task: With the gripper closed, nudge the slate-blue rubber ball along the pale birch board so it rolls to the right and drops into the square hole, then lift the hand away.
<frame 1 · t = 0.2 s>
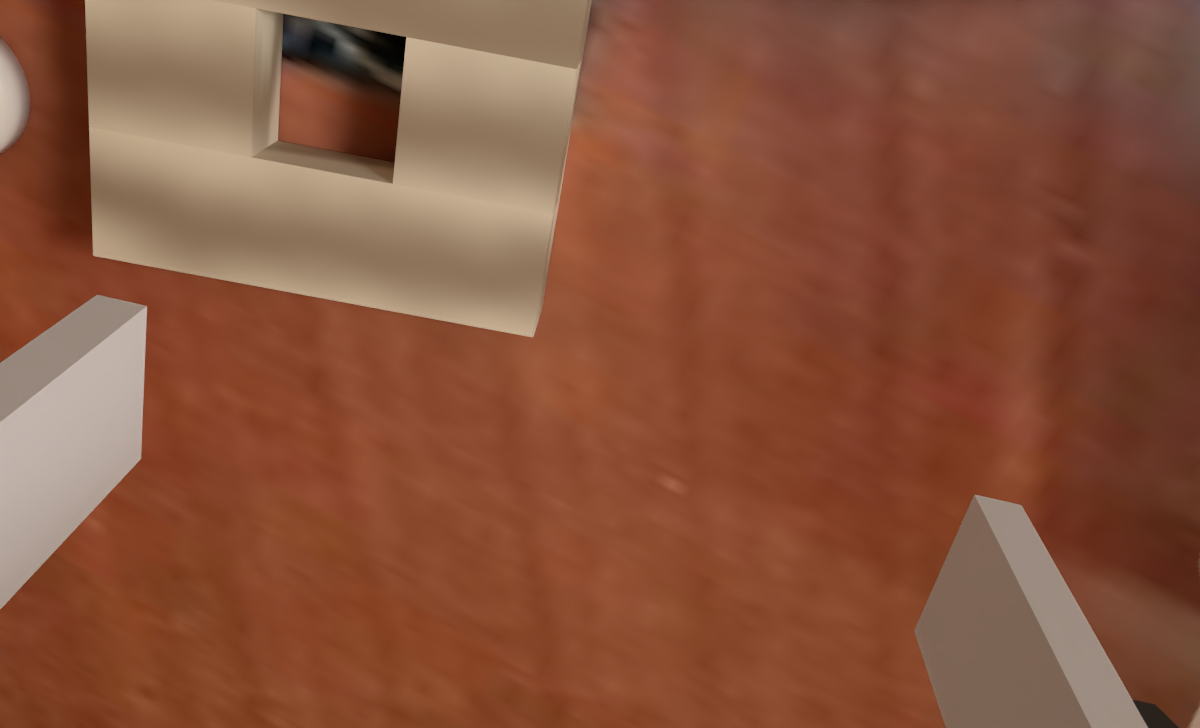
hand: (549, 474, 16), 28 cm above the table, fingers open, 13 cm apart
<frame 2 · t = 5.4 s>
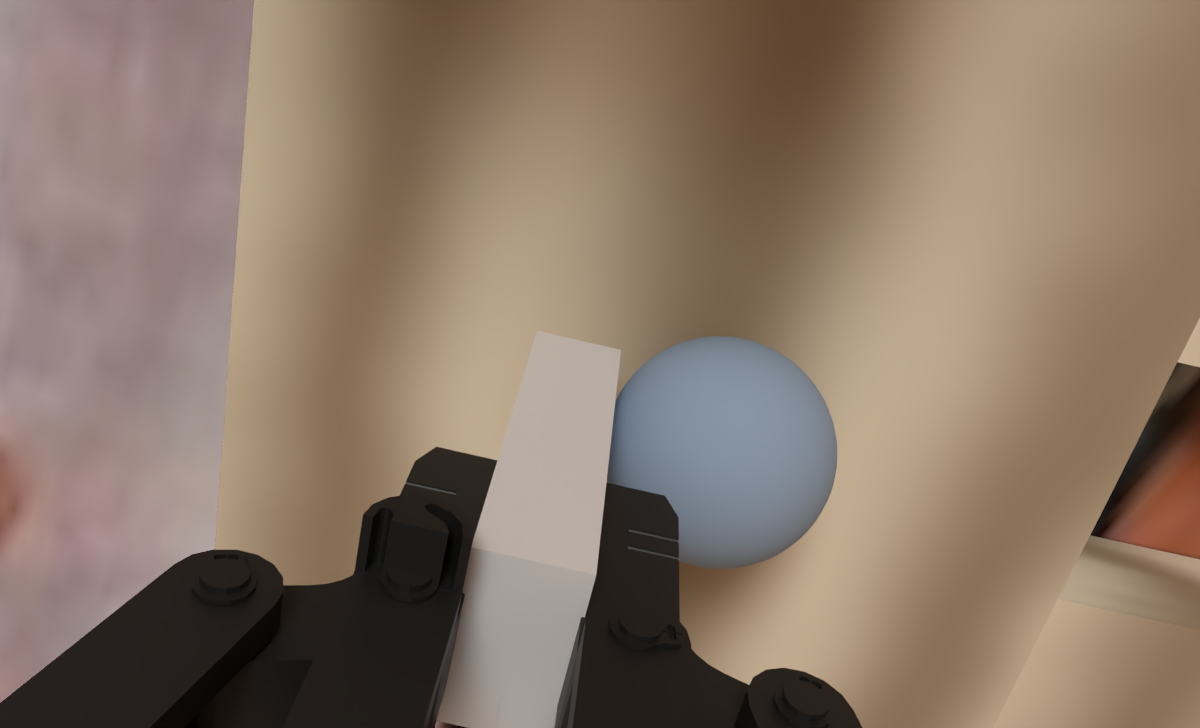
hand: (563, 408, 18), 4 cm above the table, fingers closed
ball: (719, 451, 18), point 5 cm above the table, tilted 35°, touching board
board: (918, 384, 23), on the table
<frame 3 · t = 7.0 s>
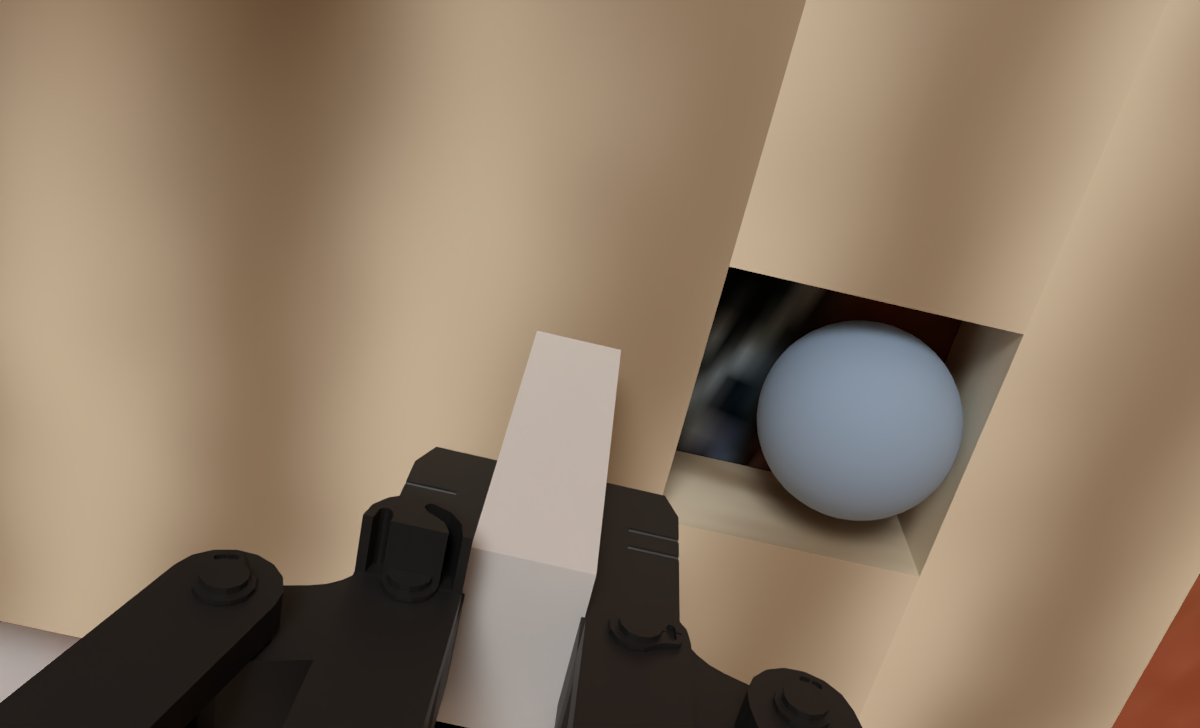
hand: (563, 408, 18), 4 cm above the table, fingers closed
ball: (857, 420, 21), point 2 cm above the table, tilted 40°
board: (540, 304, 22), on the table
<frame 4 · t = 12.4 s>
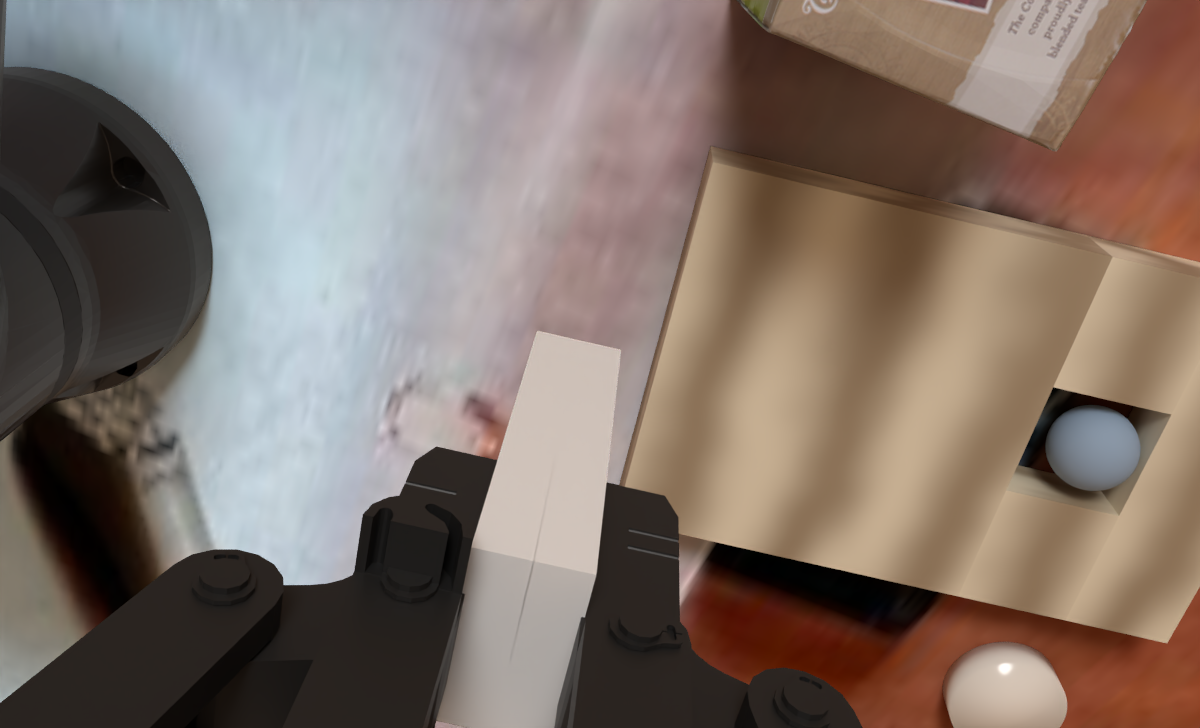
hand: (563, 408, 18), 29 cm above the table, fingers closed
ball: (1092, 447, 48), point 2 cm above the table, tilted 38°
glossy white dome: (998, 684, 57), on the table
board: (944, 395, 50), on the table
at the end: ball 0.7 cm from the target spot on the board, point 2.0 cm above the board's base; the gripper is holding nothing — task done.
